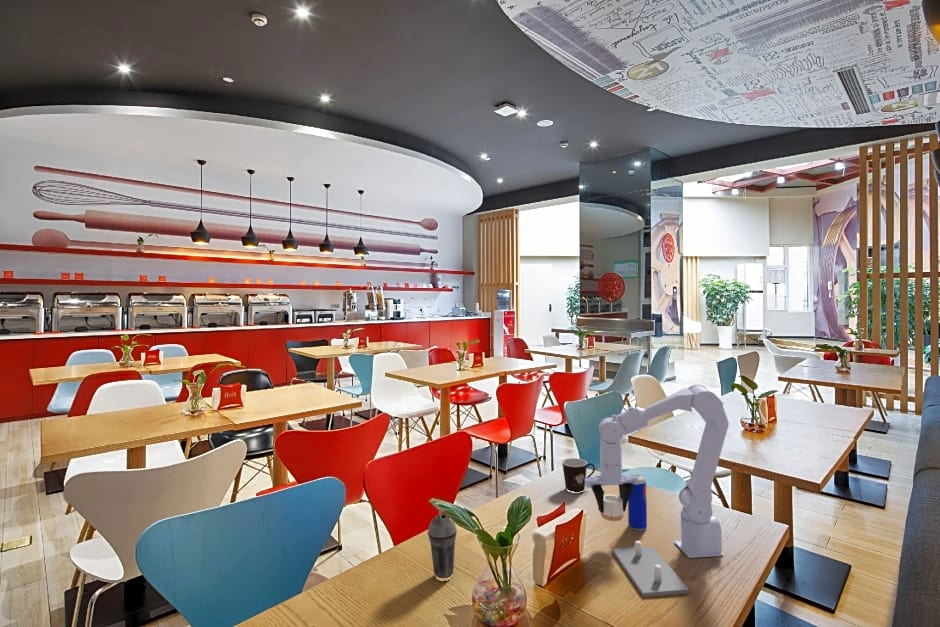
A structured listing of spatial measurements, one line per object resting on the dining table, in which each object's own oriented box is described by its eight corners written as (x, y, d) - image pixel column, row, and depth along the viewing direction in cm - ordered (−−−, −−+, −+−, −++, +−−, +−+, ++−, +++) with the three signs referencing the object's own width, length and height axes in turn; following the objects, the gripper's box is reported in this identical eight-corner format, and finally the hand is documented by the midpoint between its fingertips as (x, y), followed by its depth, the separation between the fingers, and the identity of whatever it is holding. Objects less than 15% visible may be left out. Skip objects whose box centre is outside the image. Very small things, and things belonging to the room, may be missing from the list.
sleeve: (617, 510, 135) (617, 493, 135) (625, 520, 129) (625, 502, 129) (598, 512, 134) (598, 494, 134) (605, 521, 129) (605, 503, 129)
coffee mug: (563, 494, 165) (562, 466, 164) (562, 484, 173) (561, 457, 173) (597, 496, 163) (597, 467, 163) (595, 485, 171) (594, 458, 171)
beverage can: (648, 531, 138) (647, 481, 137) (629, 530, 139) (628, 480, 138) (645, 523, 143) (644, 474, 142) (627, 522, 144) (626, 473, 143)
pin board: (612, 552, 127) (612, 536, 127) (651, 549, 128) (651, 533, 128) (643, 597, 109) (642, 578, 108) (689, 593, 109) (689, 574, 109)
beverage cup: (462, 571, 121) (459, 494, 120) (452, 587, 114) (449, 506, 113) (436, 566, 123) (433, 491, 123) (424, 582, 117) (421, 503, 116)
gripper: (630, 456, 136) (631, 502, 136) (580, 458, 135) (581, 505, 135) (641, 464, 129) (641, 513, 129) (588, 467, 128) (589, 517, 128)
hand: (611, 510), depth 132 cm, fingers closed on sleeve, 6 cm apart
